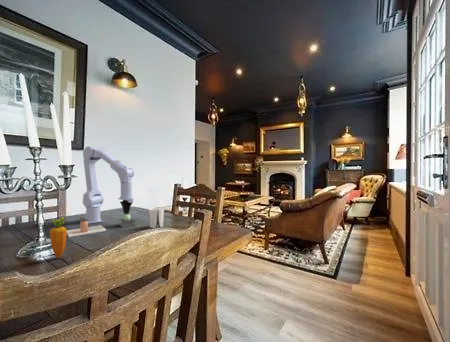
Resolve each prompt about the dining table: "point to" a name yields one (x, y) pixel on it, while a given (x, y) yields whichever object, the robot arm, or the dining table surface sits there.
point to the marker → (84, 224)
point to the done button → (126, 217)
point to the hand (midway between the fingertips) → (126, 213)
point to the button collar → (126, 223)
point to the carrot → (58, 237)
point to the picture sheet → (90, 230)
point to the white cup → (154, 216)
